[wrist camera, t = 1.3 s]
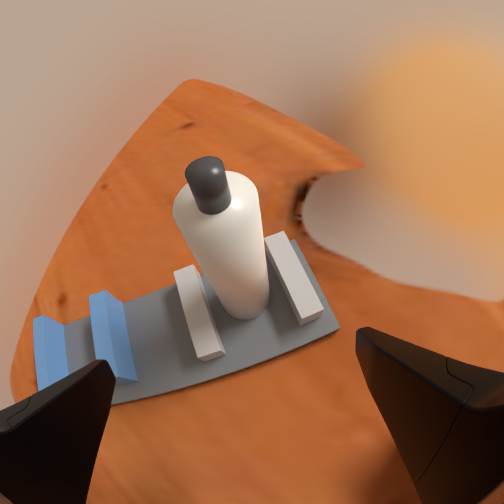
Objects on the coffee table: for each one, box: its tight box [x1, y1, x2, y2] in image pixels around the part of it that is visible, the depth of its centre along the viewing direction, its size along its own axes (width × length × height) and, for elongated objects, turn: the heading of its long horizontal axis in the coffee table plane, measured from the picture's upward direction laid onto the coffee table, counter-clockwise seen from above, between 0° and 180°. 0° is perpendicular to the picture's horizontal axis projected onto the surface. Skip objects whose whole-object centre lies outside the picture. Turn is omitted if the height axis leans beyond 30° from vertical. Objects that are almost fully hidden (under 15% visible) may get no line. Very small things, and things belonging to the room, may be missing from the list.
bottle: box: [172, 156, 270, 320], centre depth 17 cm, size 4×4×14 cm
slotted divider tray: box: [33, 231, 341, 405], centre depth 20 cm, size 9×28×4 cm, turn 110°
